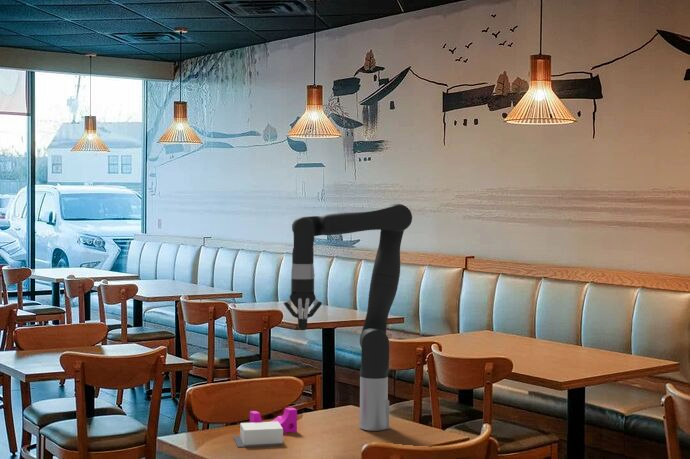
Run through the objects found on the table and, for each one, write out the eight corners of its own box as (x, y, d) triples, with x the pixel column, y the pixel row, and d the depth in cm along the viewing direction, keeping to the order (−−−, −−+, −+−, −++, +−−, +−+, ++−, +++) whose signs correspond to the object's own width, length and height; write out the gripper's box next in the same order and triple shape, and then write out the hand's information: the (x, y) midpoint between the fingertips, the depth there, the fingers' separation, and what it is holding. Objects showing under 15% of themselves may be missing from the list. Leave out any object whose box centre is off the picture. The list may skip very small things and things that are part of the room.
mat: (275, 435, 290) (275, 434, 290) (281, 445, 278) (281, 444, 278) (233, 437, 287) (233, 436, 287) (238, 447, 275) (238, 446, 275)
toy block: (289, 428, 301) (289, 405, 301) (296, 432, 295) (297, 409, 295) (246, 432, 294) (247, 409, 294) (253, 437, 289) (253, 413, 289)
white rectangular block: (277, 421, 289) (240, 423, 286) (282, 428, 279) (244, 430, 276) (277, 435, 289) (240, 437, 286) (282, 443, 279) (244, 445, 276)
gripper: (320, 276, 302) (319, 328, 303) (281, 276, 299) (280, 329, 300) (324, 278, 295) (324, 331, 295) (284, 278, 292) (284, 331, 292)
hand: (302, 330), depth 297 cm, fingers closed
